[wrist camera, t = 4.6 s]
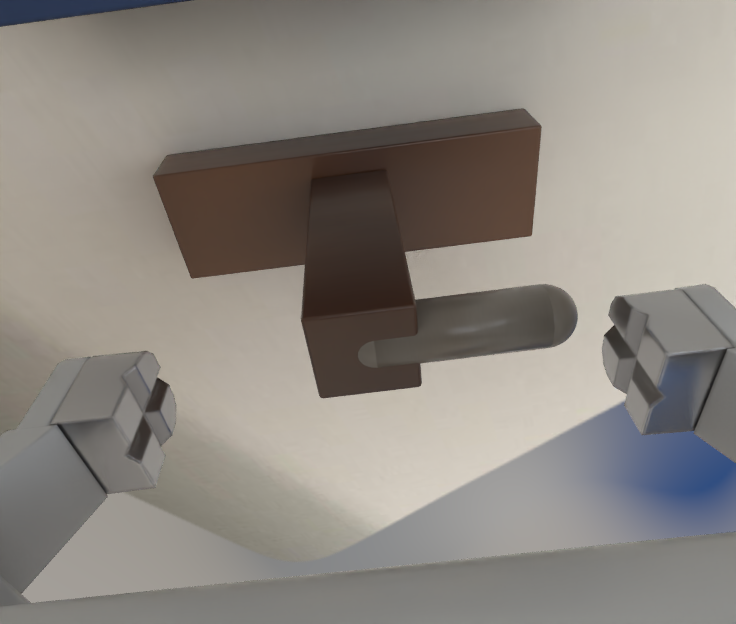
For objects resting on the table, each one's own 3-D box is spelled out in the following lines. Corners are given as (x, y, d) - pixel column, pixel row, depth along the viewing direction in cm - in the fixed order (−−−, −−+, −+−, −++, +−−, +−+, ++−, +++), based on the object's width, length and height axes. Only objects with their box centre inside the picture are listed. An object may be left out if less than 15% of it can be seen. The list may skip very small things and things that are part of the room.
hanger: (200, 253, 17) (126, 448, 11) (166, 154, 15) (51, 324, 9) (517, 212, 16) (627, 388, 10) (524, 107, 14) (664, 248, 8)
